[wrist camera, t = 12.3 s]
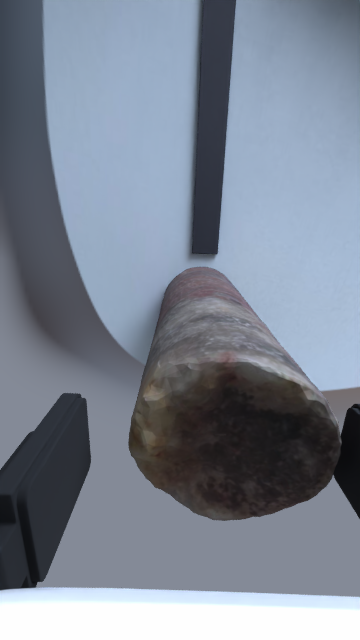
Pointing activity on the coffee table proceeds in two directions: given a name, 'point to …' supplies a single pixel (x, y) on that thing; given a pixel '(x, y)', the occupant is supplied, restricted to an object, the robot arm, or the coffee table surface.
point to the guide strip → (212, 121)
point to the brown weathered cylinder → (228, 408)
